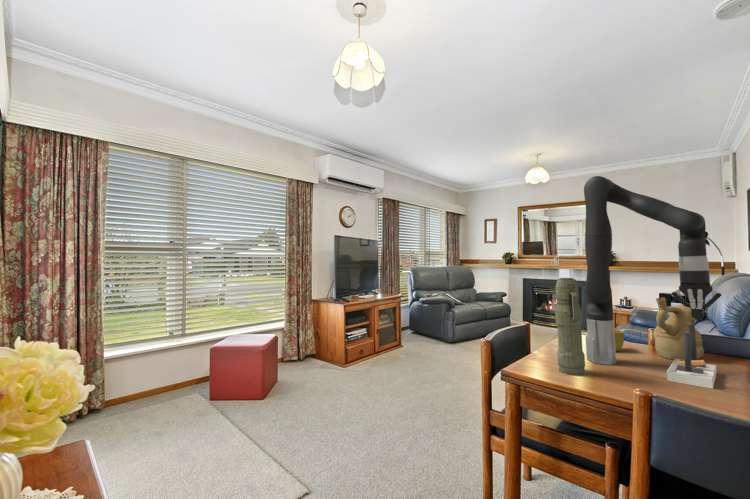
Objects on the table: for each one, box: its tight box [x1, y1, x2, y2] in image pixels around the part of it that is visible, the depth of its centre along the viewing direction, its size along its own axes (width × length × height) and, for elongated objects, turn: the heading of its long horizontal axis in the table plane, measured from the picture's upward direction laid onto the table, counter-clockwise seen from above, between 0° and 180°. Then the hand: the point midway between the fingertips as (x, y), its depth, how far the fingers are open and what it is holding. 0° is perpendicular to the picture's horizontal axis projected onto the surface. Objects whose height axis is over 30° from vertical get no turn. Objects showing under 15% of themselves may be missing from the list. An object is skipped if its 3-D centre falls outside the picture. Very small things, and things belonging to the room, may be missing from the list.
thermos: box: [554, 277, 586, 376], centre depth 127 cm, size 9×12×35 cm
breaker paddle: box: [677, 359, 706, 367], centre depth 117 cm, size 2×7×2 cm, turn 42°
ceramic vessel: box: [652, 297, 705, 361], centre depth 140 cm, size 17×20×25 cm
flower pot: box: [614, 328, 625, 352], centre depth 154 cm, size 9×9×9 cm
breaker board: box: [666, 359, 718, 390], centre depth 117 cm, size 19×11×4 cm, turn 132°
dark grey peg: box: [683, 332, 692, 372], centre depth 111 cm, size 2×2×13 cm
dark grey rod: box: [689, 324, 697, 360], centre depth 123 cm, size 2×2×13 cm
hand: (697, 319), depth 116 cm, fingers closed
